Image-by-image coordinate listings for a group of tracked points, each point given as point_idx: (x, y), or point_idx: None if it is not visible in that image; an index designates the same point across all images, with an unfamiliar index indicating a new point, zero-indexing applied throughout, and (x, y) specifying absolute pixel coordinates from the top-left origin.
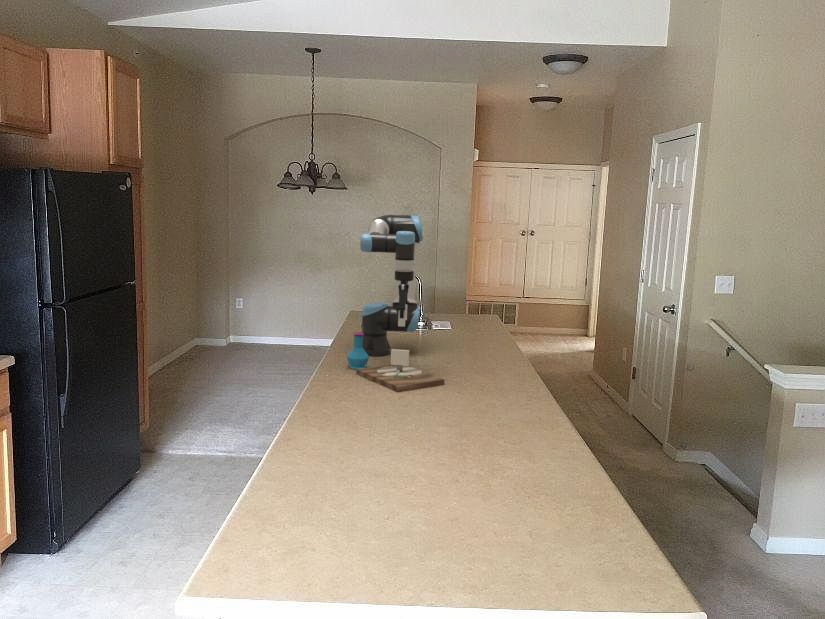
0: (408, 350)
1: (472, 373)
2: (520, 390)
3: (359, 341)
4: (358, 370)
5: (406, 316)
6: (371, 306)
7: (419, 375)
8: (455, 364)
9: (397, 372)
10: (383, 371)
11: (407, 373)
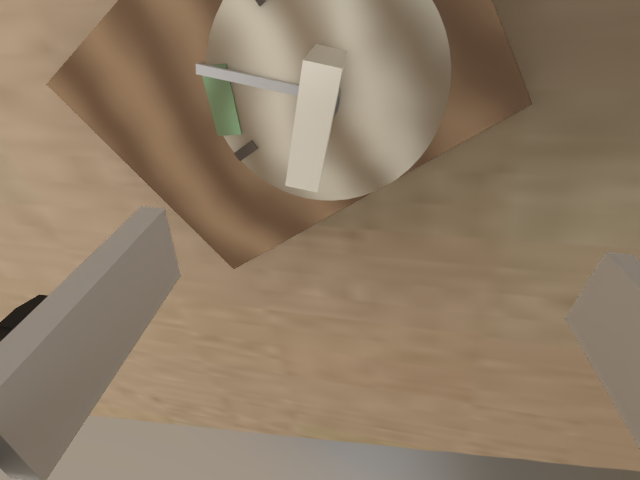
0: (307, 187)
1: (402, 346)
2: (233, 402)
3: None
4: None
5: (588, 352)
6: None
7: (273, 187)
8: (545, 320)
9: (253, 85)
10: None
11: (289, 135)
